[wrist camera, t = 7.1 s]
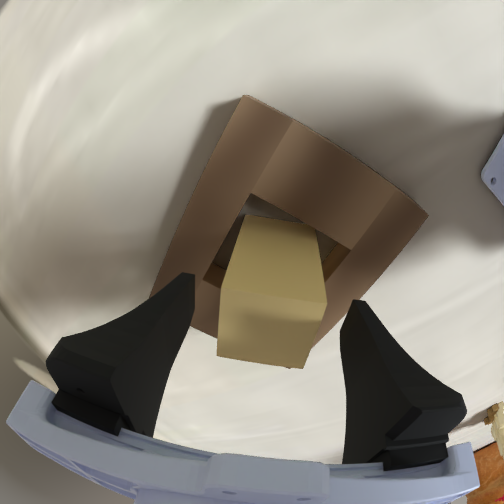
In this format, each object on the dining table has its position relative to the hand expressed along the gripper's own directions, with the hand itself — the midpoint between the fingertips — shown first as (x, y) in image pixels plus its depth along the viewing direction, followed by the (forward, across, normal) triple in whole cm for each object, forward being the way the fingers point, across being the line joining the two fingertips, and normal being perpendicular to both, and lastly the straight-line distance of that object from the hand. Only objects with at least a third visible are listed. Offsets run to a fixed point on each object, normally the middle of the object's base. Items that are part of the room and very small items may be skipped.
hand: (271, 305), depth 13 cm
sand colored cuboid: (+5, 0, 0) cm, 5 cm away
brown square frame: (+5, 0, 0) cm, 5 cm away
